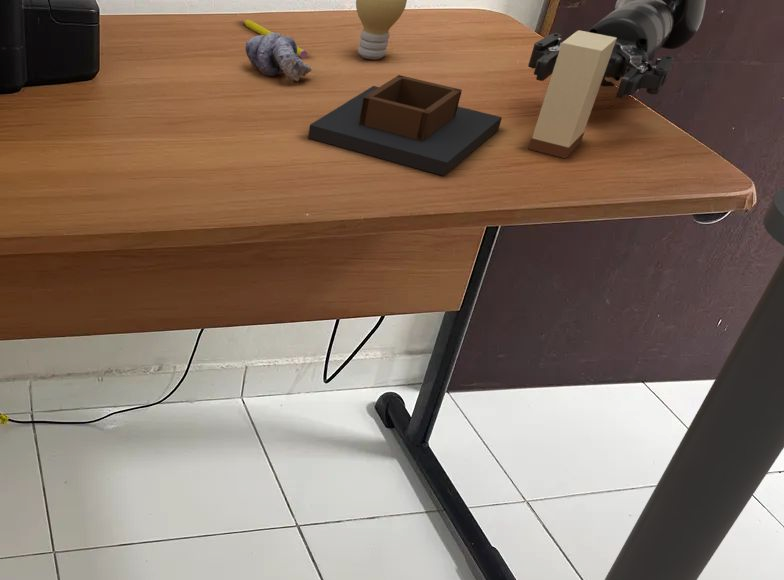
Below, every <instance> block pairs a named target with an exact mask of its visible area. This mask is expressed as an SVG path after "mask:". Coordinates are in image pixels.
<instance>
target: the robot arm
mask: <svg viewBox="0 0 784 580" xmlns="http://www.w3.org/2000/svg"><path fill="white" fill-rule="evenodd" d="M706 2H707V0H616V2H615V5H614V8H613V11H611V12H610V13H609V14H607V15H606V16H605V17H603V18H601V20H599V21H597V23H596V24H594V25H592V27H591V28H590V29H588V30H587V32H590V33H595V34H601V35H606V36H611V37H616V38H617V39H616V42H615V45H614V48H613V51H612V53H611V56H610V59H609V62H608V65H607V68H606V71H605V73H604V76H603V79H602V82H601V85H600V87H607V88H609V87H617V91H616V94H615V98H617V99H620V100H623V99H624V98H625V97H626V96H633V95H634V94H635V93H638V92H640V90H641V89H646V91H645V93H647V94H649V95H652V96H653V95H658V94H659V93H660V91H661V89H662V88H663V86H664V85H665V84H666V82H667V80H668V78H669V77H668V76H669V74H670V72H671V69H672V67H673V64H674V62H675V57H674V56H673V55H670V54H669V55H663V56H662V58H661V57H657V58H656V60H654V58H655V56H656V55H657V53H658V52H659V50H660V49H661V48H662V49H666V50H675V49H678V48H681V47H683V46H685V45H686V44H687V43H688V42H690V41H691V40H692V38H693V37H694V36H695V35H696V33H697V32H698V30H699V29H700V26H701V24H702V20H703V18H704V13H705V8H706ZM562 40H563V39H562V34H560V33H558V32H554V33H550V34H548V35H547V36H545V37H543V38H541V39H540V40H538V41H535V43H534V45H533V49H532V51H531V54H530V58H529V61H528V64H527V67H528V68H530V69H533V70H534V71H533V75H534V76H536V81H540V82H544V81H545V80H546V79H548V78H549V77H550V76H552V73H553V70H554V66H555V63H556V60H557V57H558V54H559V51H560V47H561V44H562V42H563V41H562Z"/></svg>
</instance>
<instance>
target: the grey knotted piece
mask: <svg viewBox="0 0 784 580" xmlns="http://www.w3.org/2000/svg"><path fill="white" fill-rule="evenodd" d="M297 46H298V45H297V42H296V41H295V39H293V38H292V37H291V36H289V35H283V36H282V34H281V33H279V32H274V31H272V33H270V34H267V35H266V36H263V35H260V34H259V35H255V36H253V37H251V38H250V39H248V40H247V41H246V42H245V53H246V56H247V58H248V60H249V62H250V64H251V66H253V68H254V69H256V70H259V71H260V72H261V73H262V75H263V76H267V77H271V76H272V77H274V76H277V75H280V74H282V73H284V75H285V76H286V77H287V78H288V79H290V80H291V79H292V80H293V81H295V82H299V80H300V78H301V77H305V76H306V75H308V74H309V73H310V72H312V71H313V69H312V66H311V65H310V64H305V63H304V62H303V60H302V58H301V57H299V56H297V55H296V53H297Z"/></svg>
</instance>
